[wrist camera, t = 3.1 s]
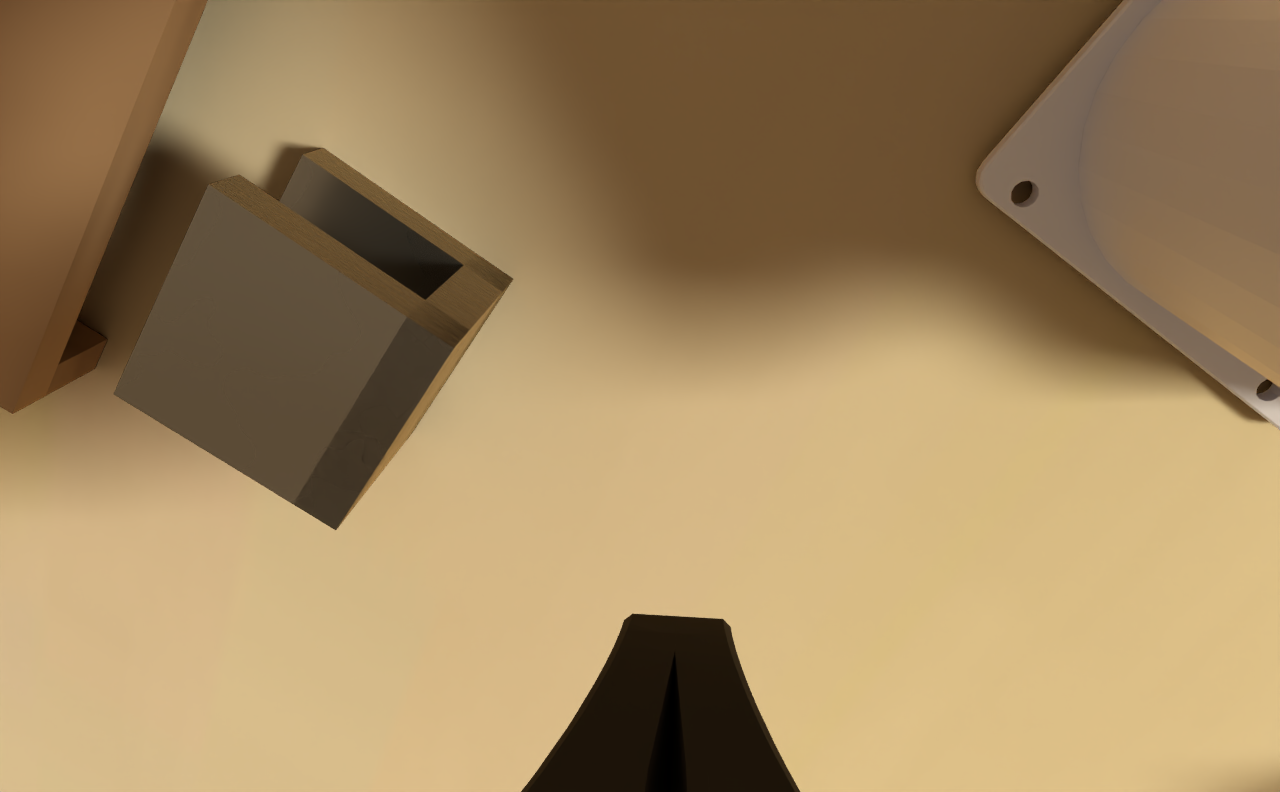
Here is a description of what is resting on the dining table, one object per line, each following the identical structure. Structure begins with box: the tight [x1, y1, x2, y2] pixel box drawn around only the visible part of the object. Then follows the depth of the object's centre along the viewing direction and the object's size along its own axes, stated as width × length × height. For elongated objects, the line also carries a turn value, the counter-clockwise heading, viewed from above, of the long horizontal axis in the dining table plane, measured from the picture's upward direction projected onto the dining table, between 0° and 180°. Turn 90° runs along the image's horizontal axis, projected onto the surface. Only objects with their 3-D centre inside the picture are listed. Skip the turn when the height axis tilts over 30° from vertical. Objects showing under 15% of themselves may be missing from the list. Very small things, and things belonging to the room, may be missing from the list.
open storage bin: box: [114, 148, 513, 530], centre depth 18 cm, size 5×5×4 cm
